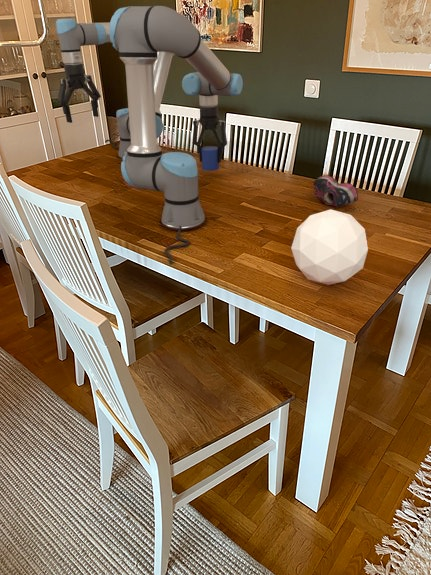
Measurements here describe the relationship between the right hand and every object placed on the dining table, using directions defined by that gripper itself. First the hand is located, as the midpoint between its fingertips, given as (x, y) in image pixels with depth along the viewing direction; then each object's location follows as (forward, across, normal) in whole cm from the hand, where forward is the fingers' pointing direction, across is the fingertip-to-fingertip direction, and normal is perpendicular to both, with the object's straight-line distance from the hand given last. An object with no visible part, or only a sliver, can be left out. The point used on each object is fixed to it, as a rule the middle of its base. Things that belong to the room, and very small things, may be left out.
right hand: (210, 161), depth 193 cm
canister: (+3, 0, 0) cm, 3 cm away
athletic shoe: (+7, -52, +22) cm, 57 cm away
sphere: (+7, -53, +78) cm, 95 cm away
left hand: (-18, +53, +9) cm, 57 cm away
